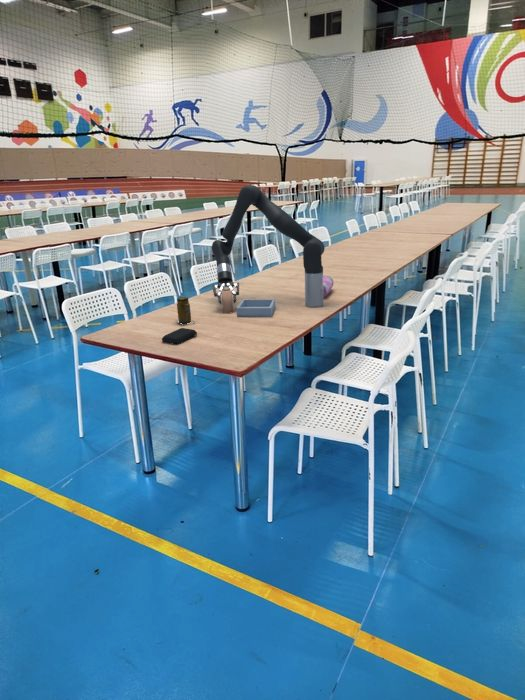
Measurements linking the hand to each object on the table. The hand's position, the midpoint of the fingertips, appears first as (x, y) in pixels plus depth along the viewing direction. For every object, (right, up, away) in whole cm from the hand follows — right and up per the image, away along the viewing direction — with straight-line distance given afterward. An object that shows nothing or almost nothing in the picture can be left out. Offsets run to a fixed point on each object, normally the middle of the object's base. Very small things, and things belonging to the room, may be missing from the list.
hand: (227, 302), depth 240 cm
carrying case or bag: (-18, -20, -32) cm, 41 cm away
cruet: (0, -4, +3) cm, 6 cm away
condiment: (-19, -11, -10) cm, 25 cm away
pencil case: (+51, +7, +27) cm, 58 cm away
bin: (+15, -5, 0) cm, 15 cm away
